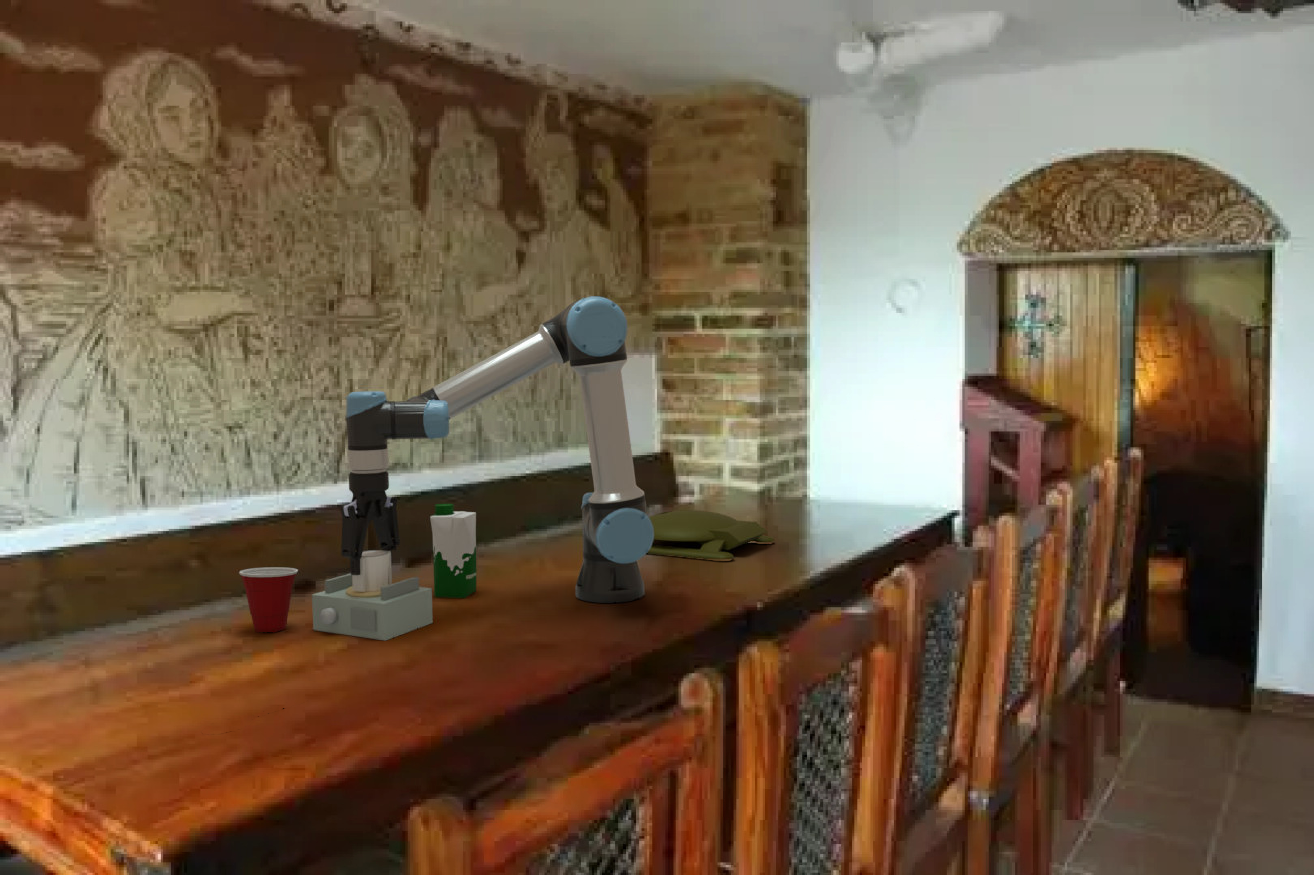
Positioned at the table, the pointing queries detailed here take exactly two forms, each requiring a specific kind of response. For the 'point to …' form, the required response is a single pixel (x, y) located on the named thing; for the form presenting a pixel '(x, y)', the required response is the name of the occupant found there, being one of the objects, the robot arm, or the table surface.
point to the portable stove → (372, 608)
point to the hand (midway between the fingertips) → (372, 586)
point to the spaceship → (703, 533)
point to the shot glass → (376, 569)
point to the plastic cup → (269, 596)
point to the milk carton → (454, 551)
